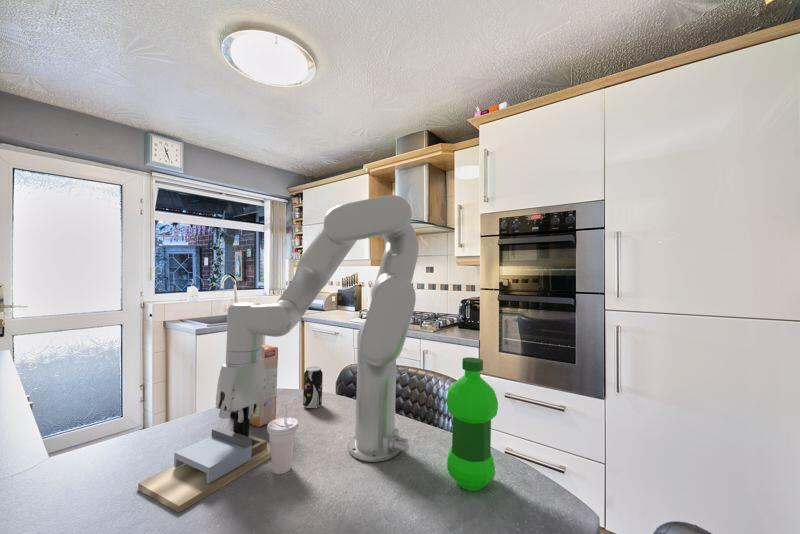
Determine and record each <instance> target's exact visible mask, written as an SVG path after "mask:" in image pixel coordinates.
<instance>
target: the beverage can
mask: <svg viewBox="0 0 800 534" xmlns="http://www.w3.org/2000/svg"><path fill="white" fill-rule="evenodd" d="M302 394H303V396H302V397H303V398H302V406H303V407H304V408H305V409H307V408H315V409H317V408H316V407H318V408H319V407H320V406H322V404H323V402H322V401H323V371H322V368H321V367H320V366H309V367H306V368H305V371H304V373H303V393H302Z"/></svg>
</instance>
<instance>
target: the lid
mask: <svg viewBox="0 0 800 534" xmlns="http://www.w3.org/2000/svg"><path fill="white" fill-rule="evenodd" d="M251 452H252V438H250V437H247V436H244V435H241V434H238V433H236V432H233V431H232V430H230V429H227V428H224V427H220V426H217V427H214V428H211V436H209V437H206V438H205V439H202V440H199V441H197V442H195V443H192V444H191V445H188V446H186V447H184V448H182V449H179V450H177V451H174V452H173V453H174V455H173V456H174V457H173V466H174V467H175V468H177V467H179V466H181V465H183V464H188V465H190V466H192V467H194V468H196V469H199V470H201V471H203V472H205V473H207V476H206V483H208V484H209V483H211V482H213V481H214V480H216V479H218V478H219V477H221V476H223V475H225V474H226V473H228V472H230V471H232V470H233V469H235V468H237V467H239V466H240V465H242V464H244V463H246V462H247V461H249V460H251Z"/></svg>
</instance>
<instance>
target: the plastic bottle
mask: <svg viewBox="0 0 800 534" xmlns="http://www.w3.org/2000/svg"><path fill="white" fill-rule="evenodd" d="M461 367H462V370H464V375H463V376H462V377H460V378H458V380H456V381H455V382H453V383H452V384H451V385H450V386H449V388H448V390H447V393H446V394H447V396H446V406H447V411H448V412H449V413H450V415H451V416H452V437H451V438H452V440H451V442H452V444H451V447H450V449H449V450H448V453H447V459H446V461H447V463H446V465H447V467H446V469H447V471H448V475H450V477H451V478H452V479H453V480H454V481H456V483H457V484H458V486H459V487H461V488H462V489H463V490H466V491H469V492H473V491H474V492H475V491H480V490H482V489H483V488H484V487H486V486H487V485H488V484H489V483H491V481H493V480H494V477H495V475H496V466H495V461H494V457H493V454H492V452H491V448H492V447H491V445H492V444H491V440H492V420H493V419H494V418H496V416H497V414H498V411H499V410H498V409H499V401H498V398H497V394H496V391H495V389H494V388H492V387H491V385H490V384H489V383H488V382H487V381H486V380H484V378H482V377H481V372H483V371H484V360H483V359H481V358H479V357H472V356H471V357H469V356H468V357H463V358H462V366H461Z"/></svg>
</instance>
